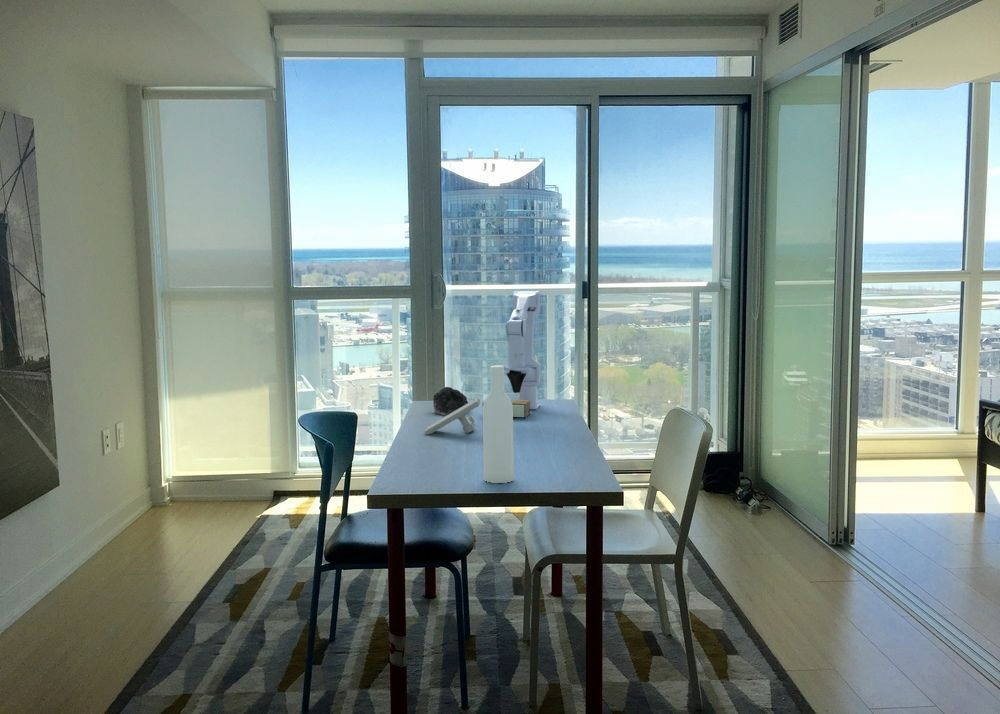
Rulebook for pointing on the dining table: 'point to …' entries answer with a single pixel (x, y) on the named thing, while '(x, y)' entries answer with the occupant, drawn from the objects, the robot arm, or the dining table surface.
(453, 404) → the crystal cluster
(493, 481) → the bottle
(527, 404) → the cabinet
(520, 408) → the door
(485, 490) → the dining table surface
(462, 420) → the door handle
